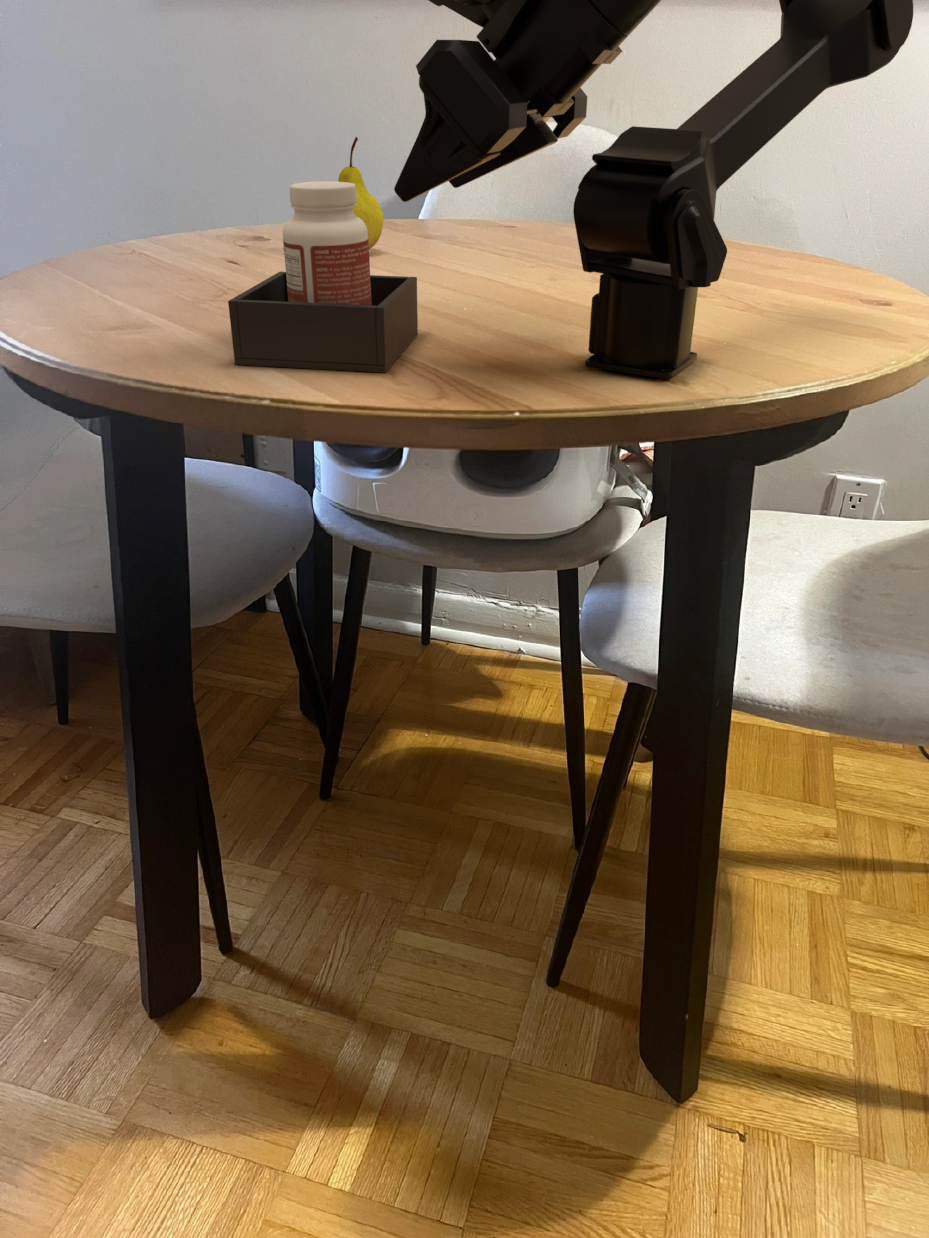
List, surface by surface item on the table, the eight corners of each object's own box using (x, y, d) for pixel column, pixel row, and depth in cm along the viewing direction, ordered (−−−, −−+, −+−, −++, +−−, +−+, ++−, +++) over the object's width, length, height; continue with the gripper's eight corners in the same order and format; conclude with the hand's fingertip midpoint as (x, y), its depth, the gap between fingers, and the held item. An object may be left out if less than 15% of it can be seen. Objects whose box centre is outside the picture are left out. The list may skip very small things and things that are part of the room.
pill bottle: (385, 336, 77) (380, 181, 72) (354, 356, 72) (346, 190, 67) (312, 330, 79) (301, 178, 73) (277, 349, 74) (263, 187, 68)
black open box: (417, 335, 80) (417, 277, 77) (385, 373, 70) (383, 307, 68) (284, 328, 81) (279, 271, 79) (234, 364, 72) (227, 300, 69)
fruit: (315, 250, 114) (308, 134, 108) (370, 246, 117) (366, 133, 111) (336, 260, 109) (329, 139, 103) (393, 255, 111) (390, 137, 105)
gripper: (552, -95, 66) (403, 91, 74) (451, -144, 50) (277, 96, 59) (658, 43, 67) (499, 209, 76) (590, 36, 52) (401, 244, 61)
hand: (426, 189), depth 68 cm, fingers open, 9 cm apart
